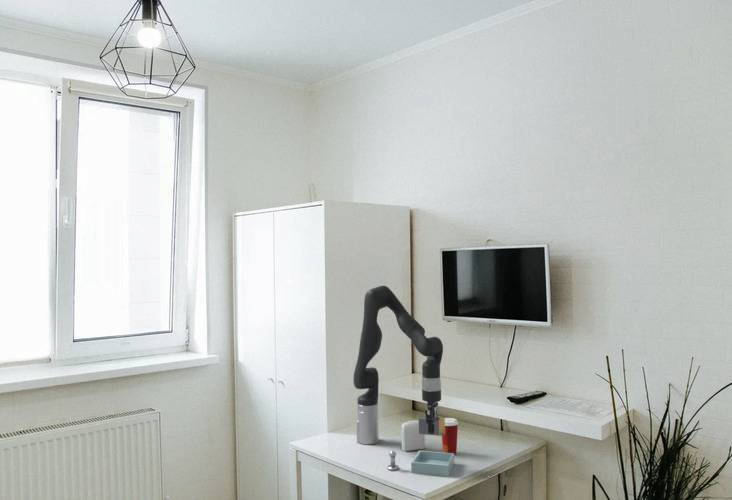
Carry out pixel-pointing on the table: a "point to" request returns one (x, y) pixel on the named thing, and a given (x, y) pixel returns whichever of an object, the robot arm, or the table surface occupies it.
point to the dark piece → (438, 426)
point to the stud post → (392, 462)
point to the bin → (432, 463)
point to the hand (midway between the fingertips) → (432, 431)
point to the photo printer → (412, 436)
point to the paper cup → (450, 436)
